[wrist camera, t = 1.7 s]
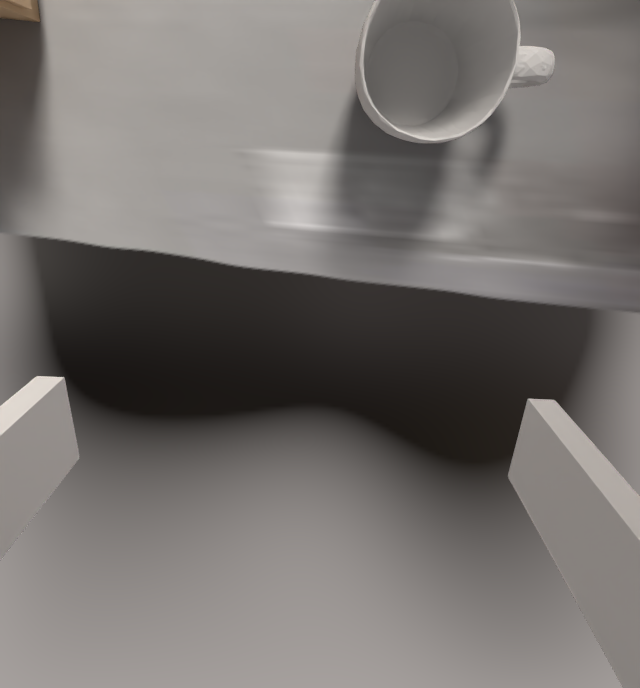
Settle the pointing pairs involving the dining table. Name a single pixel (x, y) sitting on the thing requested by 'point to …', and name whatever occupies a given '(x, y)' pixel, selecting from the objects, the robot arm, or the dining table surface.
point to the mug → (442, 65)
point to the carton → (20, 10)
